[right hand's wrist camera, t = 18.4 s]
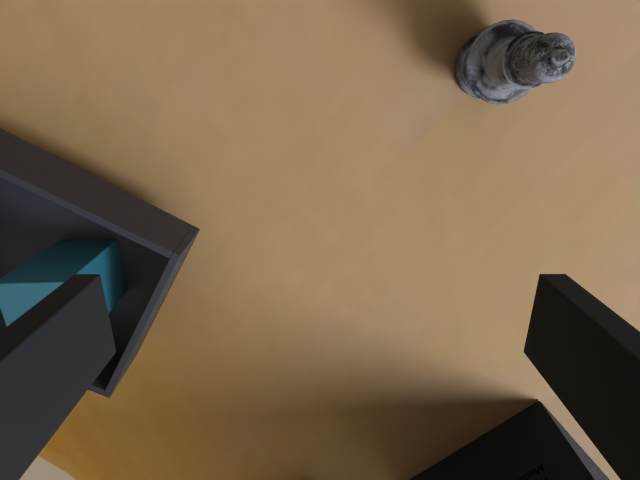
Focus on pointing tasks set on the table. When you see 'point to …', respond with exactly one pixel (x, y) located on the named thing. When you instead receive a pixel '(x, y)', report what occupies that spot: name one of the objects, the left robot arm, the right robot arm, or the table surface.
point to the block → (62, 274)
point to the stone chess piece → (512, 61)
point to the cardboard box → (520, 453)
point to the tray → (90, 237)
